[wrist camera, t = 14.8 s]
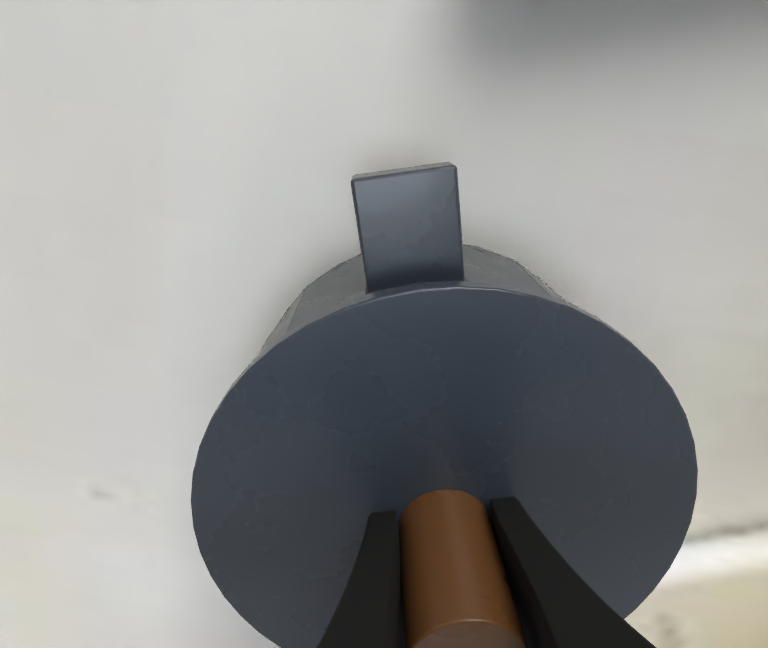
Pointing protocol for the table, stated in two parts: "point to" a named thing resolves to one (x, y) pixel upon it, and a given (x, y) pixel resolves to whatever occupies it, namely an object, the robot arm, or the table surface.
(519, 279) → the pot
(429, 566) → the pot lid
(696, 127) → the table surface
